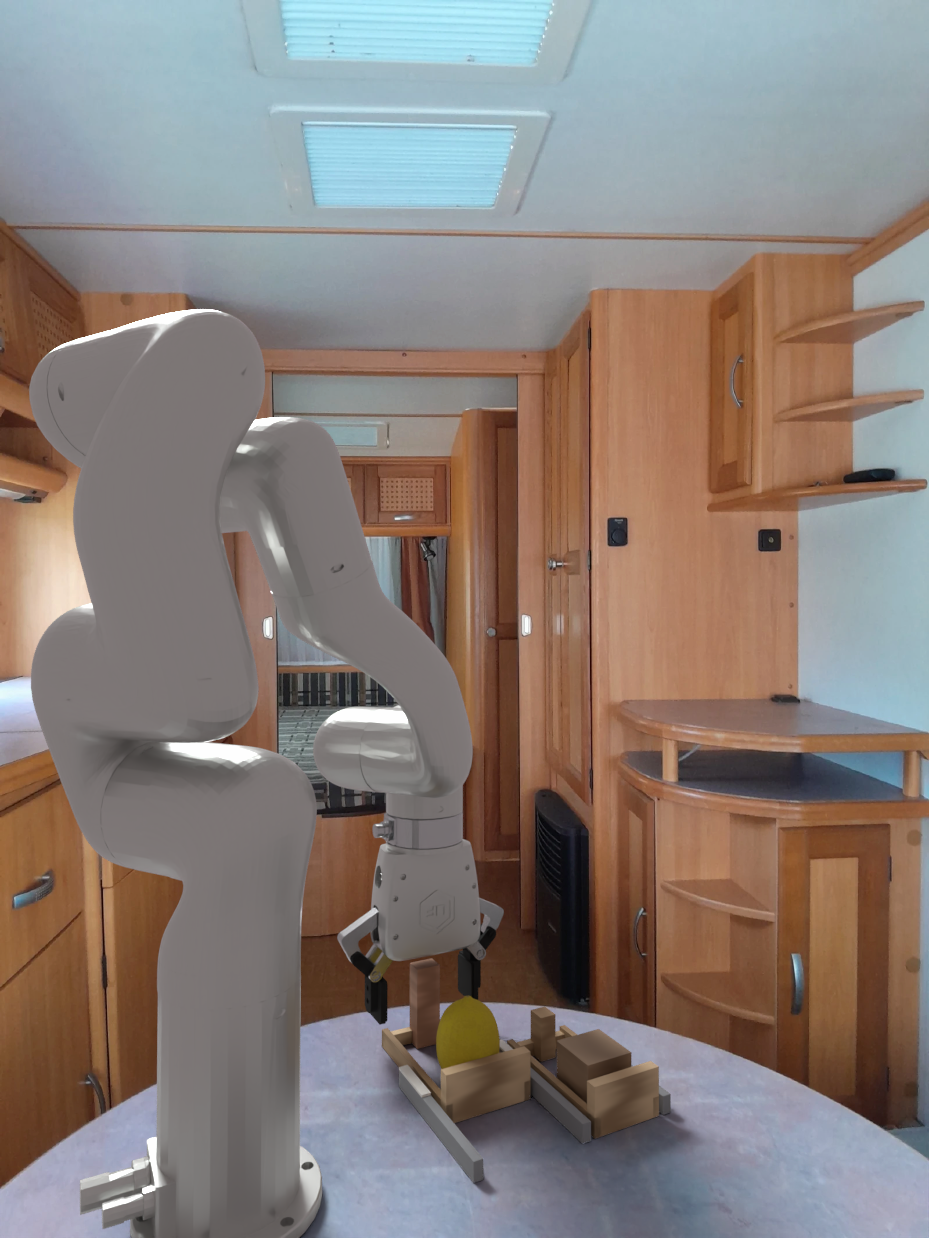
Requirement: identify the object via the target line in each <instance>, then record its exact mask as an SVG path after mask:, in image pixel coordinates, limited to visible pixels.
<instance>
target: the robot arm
mask: <svg viewBox="0 0 929 1238" xmlns="http://www.w3.org/2000/svg"><path fill="white" fill-rule="evenodd" d="M265 367H266V366H265V363H264V356H263V352H262V350H261V347H260V344H259V341H258V340H257V338H256V336H255V334H254V333H253V331H252V330H251V329H250V328H249V327H248V325H246V324H245V323H244V322H243V321H242V320H241V319H240V318H238V317H236V316H234V315H232V314H230V313H227V312H224V311H219V310H215V309H206V308H205V309H204V308H202V309H201V308H200V309H198V308H197V309H188V310H180V311H175V312H168V313H165V314H160V315H156V316H153V317H149V318H145V319H142V320H138V321H135V322H132V323H129V324H126V325H122V326H120V327H117V328H113V329H111V330H106V331H103V332H99V333H95V334H92V335H88V336H85V337H80V338H77V339H74V340H71V341H69V342H66V343H63V344H60V345H59V346H57V347H55V348H54V349H52V350H51V351H50V352H48V353H47V354H46V355H44V357H42V359H41V360H40V361H39V362H38V364H37V365H36V367H35V370H34V371H33V373H32V375H31V379H30V382H29V386H28V387H29V388H28V391H29V399H28V400H29V404H30V408H31V412H32V416H33V418H34V421H35V423H36V426H37V427H38V429H39V431H40V432H41V434H42V435H43V436H44V438H45V439H46V440H47V442H48V443H50V445H51V446H52V447H53V448H54V449H55V451H57V452H58V453H59V454H60V455H62V456H63V457H64V458H65V459H66V460H67V461H69V462H70V463H72V464H73V465H74V466H76V467H77V468H78V469H80V472H79V474H78V475H79V476H78V478H77V483H76V486H75V493H74V499H73V510H72V513H73V515H72V523H73V534H74V540H75V545H76V551H77V554H78V558H79V562H80V565H81V569H82V573H83V577H84V582H85V584H86V588H87V591H88V595H89V599H90V602H91V603H87V604H82V605H79V606H76V607H73V608H71V609H69V610H67V611H66V612H64V613H62V614H61V615H60V616H58V617H57V618H56V619H55V620H54V621H52V623H50V624H49V626H48V627H47V628H46V630H45V631H44V632H43V634H42V636H41V637H40V639H39V640H38V643H37V645H36V648H35V650H34V653H33V659H32V661H31V662H32V663H31V669H30V671H31V672H30V691H31V698H32V699H31V700H32V703H33V707H34V711H35V714H36V717H37V720H38V723H39V726H40V729H41V731H42V735H43V737H44V740H45V742H46V745H47V748H48V751H49V753H50V756H51V758H52V759H51V760H52V762H53V764H54V766H55V769H56V772H57V775H58V777H59V780H60V782H61V785H62V787H63V790H64V792H65V796H66V798H67V801H68V803H69V806H70V808H71V811H72V814H73V816H74V819H75V821H76V823H77V826H78V827H79V830H80V832H81V833H82V835H83V836H84V838H85V840H86V842H88V845H89V846H90V847H91V848H92V849H93V850H94V851H95V853H97V854H98V855H99V856H100V857H102V858H103V859H105V860H106V861H107V862H109V863H112V864H115V865H117V866H120V867H122V868H126V869H130V870H131V869H132V870H135V871H139V872H144V873H149V874H155V875H157V876H158V875H159V876H163V877H166V878H167V877H169V878H170V879H174V880H177V881H181V882H182V885H183V887H182V893H181V896H180V899H179V902H178V904H177V906H176V907H175V910H174V911H173V913H172V915H171V917H170V919H169V921H168V923H167V925H166V927H165V929H164V932H163V934H162V937H161V941H160V945H159V949H158V950H159V951H158V956H157V967H156V968H157V969H156V992H157V1025H156V1026H157V1028H156V1031H157V1032H156V1034H157V1035H156V1036H157V1037H156V1038H157V1039H156V1040H157V1041H156V1042H157V1043H156V1044H157V1046H156V1047H157V1048H156V1049H157V1050H156V1056H157V1057H156V1136H154V1137H150V1138H148V1139H146V1156H143V1157H141V1158H140V1157H139V1158H137V1159H134V1160H131V1166H129V1167H126V1168H123V1169H119V1170H116V1171H113V1172H109V1171H107V1172H103V1173H100V1174H97V1175H93V1176H90V1177H85V1178H83V1179H80V1180H79V1214H80V1216H82V1215H85V1214H89V1213H92V1212H95V1211H99V1210H101V1224H102V1225H101V1227H102V1230H105V1229H109V1228H112V1227H115V1226H118V1225H121V1224H125V1222H127V1221H129V1234H130V1238H300V1237H301V1236H303V1235H304V1234H305V1233H306V1231H307V1230H308V1229H309V1228H310V1225H311V1224H312V1223H313V1221H315V1219H316V1216H317V1214H318V1211H319V1210H320V1208H321V1203H322V1196H323V1175H322V1171H321V1167H320V1165H319V1162H317V1159H316V1158H315V1156H314V1155H313V1154H311V1152H309V1150H308V1149H306V1148H305V1147H304V1146H301V1025H302V1024H301V1023H302V1022H301V1019H302V1018H301V1017H302V1015H301V1012H302V1011H301V1010H302V1009H301V1007H302V1006H301V1005H302V1004H301V1002H302V1001H301V999H302V998H301V997H302V996H301V995H302V994H301V993H302V992H301V991H302V989H301V986H302V983H301V982H302V981H301V980H302V975H301V974H302V973H301V972H302V971H301V970H302V969H301V967H302V966H301V961H302V959H301V957H302V956H301V955H302V954H301V952H302V950H301V949H302V918H303V917H302V916H303V903H304V895H305V888H306V887H305V885H306V878H307V873H308V867H309V862H310V858H311V852H312V848H313V843H314V837H315V832H316V826H317V812H318V811H317V810H318V807H317V799H316V794H315V790H314V788H313V785H312V783H311V781H310V779H309V777H308V775H307V773H305V772H304V771H303V769H301V767H300V766H299V765H298V764H296V762H294V761H293V760H291V759H290V758H288V757H286V756H284V755H282V754H280V753H278V752H275V751H271V750H269V749H266V748H261V747H257V746H251V745H249V746H248V745H241V744H231V743H230V744H229V743H220V742H213V741H216V740H221V739H224V738H226V737H229V736H230V735H233V734H234V733H236V732H237V731H239V730H241V728H243V727H244V726H245V725H246V724H247V723H248V721H249V720H250V719H251V717H252V715H253V713H254V711H255V710H256V707H257V705H258V704H257V703H258V698H259V688H260V687H259V679H258V677H259V676H258V671H257V664H256V659H255V655H254V650H253V647H252V642H251V640H250V635H249V632H248V629H247V626H246V621H245V618H244V614H243V610H242V608H241V603H240V599H239V596H238V593H237V588H236V586H235V581H234V577H233V575H232V571H231V566H230V562H229V560H228V555H227V550H226V546H225V542H224V536H223V534H225V533H239V532H247V533H248V534H249V537H250V540H251V542H252V545H253V547H254V549H255V552H256V555H257V557H258V560H259V563H260V567H261V568H262V569H261V570H262V571H263V574H264V577H265V579H266V582H267V585H268V587H269V590H270V594H271V596H272V598H273V601H274V604H275V607H276V610H277V612H278V615H279V619H280V622H281V623H282V625H283V626H284V628H285V629H286V630H287V631H288V632H289V633H290V634H291V635H293V636H294V637H296V638H297V639H299V640H300V641H302V642H303V643H305V644H307V645H310V646H311V647H313V648H315V649H316V650H318V651H320V652H323V653H324V654H326V655H329V656H330V657H332V658H335V659H337V660H339V661H341V662H343V663H345V664H348V665H349V666H352V667H353V668H355V669H357V670H358V671H360V672H362V673H364V674H365V675H366V676H368V677H369V678H371V679H372V680H374V681H375V682H376V683H377V684H379V685H380V686H381V687H382V688H383V689H384V690H385V691H386V692H387V693H388V694H389V695H390V696H391V697H392V699H394V701H395V702H396V703H397V705H395V706H393V707H388V706H387V707H379V706H378V707H377V706H351V707H346V708H343V709H340V710H338V711H336V712H333V713H332V714H331V715H329V716H328V717H327V718H326V719H325V720H324V721H323V722H322V723H321V725H320V726H319V728H318V730H317V732H316V734H315V737H314V740H313V744H312V745H313V746H312V752H313V755H312V756H313V760H314V763H315V767H316V768H317V770H318V772H319V773H320V775H321V776H323V777H324V779H326V780H327V781H328V782H330V783H331V784H333V785H334V786H338V787H340V788H344V789H348V790H354V791H362V792H372V793H382V794H383V793H384V794H385V813H383V821H380V822H379V823H373V825H372V835H373V837H374V839H379V838H381V839H382V840H384V841H385V843H382V844H381V845H380V846H379V850H378V853H377V857H376V864H375V869H374V874H373V882H372V883H373V884H372V891H371V904H370V905H371V906H370V910H369V911H367V912H366V913H365V914H363V915H362V916H360V917H358V918H357V919H356V920H355V921H354V922H352V923H351V924H349V925H348V926H347V927H346V928H344V929H343V930H341V931H340V932H338V934H337V937H336V938H337V941H338V943H339V945H340V946H341V949H342V950H343V952H344V954H345V956H346V959H347V960H348V961H349V962H350V963H351V964H352V966H354V968H356V969H357V970H359V972H361V974H363V975H364V1006H365V1007H364V1008H365V1010H366V1012H367V1013H368V1014H370V1015H371V1017H373V1019H374V1021H376V1023H378V1025H384V1024H386V1022H388V985H389V984H388V981H387V980H386V979H385V978H384V977H383V976H384V975H385V973H386V972H387V971H388V969H389V967H390V965H391V964H392V963H393V962H394V961H396V962H402V961H410V960H415V959H421V958H426V957H431V956H435V955H440V954H444V953H450V952H455V951H458V954H457V990H458V992H459V993H460V994H461V995H462V996H463V997H465V996H471V997H472V998H473V999H476V1000H479V988H481V985H482V984H481V982H482V976H481V972H482V971H481V970H482V966H481V965H482V963H481V962H482V961H483V960H484V959H485V958H486V955H487V952H486V950H487V949H488V947H490V945H491V944H492V942H493V941H494V940H495V938H496V937H497V929H498V928H499V926H500V923H501V921H502V919H503V916H504V913H505V912H504V909H503V908H502V907H501V906H500V905H497V904H496V903H493V902H491V901H488V900H485V899H484V898H481V897H480V894H479V885H478V883H479V882H478V874H477V868H476V861H475V859H474V858H475V857H474V852H473V848H472V844H471V842H470V841H469V840H467V839H464V836H463V835H464V833H463V832H464V830H463V829H464V827H463V825H464V824H463V823H464V819H463V817H464V816H463V815H464V810H463V808H464V806H463V803H464V802H463V801H464V799H463V797H464V794H463V793H464V791H463V790H464V789H463V788H464V786H463V785H464V784H465V782H466V780H467V778H468V777H469V774H470V771H471V768H472V762H473V756H474V755H473V753H474V750H473V749H474V748H473V746H474V745H473V738H472V736H473V735H472V731H471V725H470V722H469V717H468V713H467V710H466V706H465V702H464V698H463V695H462V691H461V688H460V686H459V682H458V679H457V675H456V674H455V671H454V670H453V668H452V665H451V664H450V662H449V661H448V659H447V657H446V656H445V655H444V654H443V653H442V651H441V650H440V649H439V648H438V646H437V645H436V644H435V642H433V640H431V638H430V637H429V636H428V635H427V634H426V632H425V631H423V629H421V627H420V626H419V625H418V624H417V623H416V622H414V621H413V620H412V618H411V617H409V616H408V615H407V614H406V613H405V612H404V611H403V610H402V609H401V608H399V607H398V606H397V605H396V604H394V603H393V602H392V601H391V600H390V599H389V598H388V597H387V596H386V595H385V593H384V591H383V590H382V588H381V586H380V583H379V580H378V576H377V573H376V570H375V566H374V562H373V559H372V557H371V553H370V550H369V546H368V544H367V540H366V536H365V534H364V530H363V527H362V522H361V520H360V517H359V514H358V510H357V507H356V503H355V501H354V496H353V494H352V490H351V487H350V484H349V480H348V477H347V474H346V471H345V468H344V465H343V462H342V457H341V454H340V452H339V449H338V447H337V445H336V442H335V441H334V439H333V437H332V436H331V434H330V433H329V432H328V431H327V430H326V429H325V428H324V427H323V426H321V425H320V424H319V423H316V422H315V421H312V420H310V419H306V418H301V417H295V416H294V417H293V416H279V417H278V416H277V417H275V416H274V417H267V418H266V417H265V418H259V419H257V416H258V414H259V412H260V409H261V407H262V403H263V399H264V395H265V388H266V370H265V369H266V368H265ZM481 914H483V920H482V921H483V922H482V923H481ZM369 933H370V938H371V942H372V945H371V947H370V949H369V950H368V951H367V953H366V954H365V955H364V953H362V950H361V949H360V946H359V941H361V940H362V939H363V938H364V937H366V936H367V935H369Z"/></svg>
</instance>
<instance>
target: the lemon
mask: <svg viewBox="0 0 929 1238" xmlns="http://www.w3.org/2000/svg"><path fill="white" fill-rule="evenodd" d="M500 1040H501V1039H500V1032H499V1028H498V1024H497V1021H496V1018H495V1015H494V1013H493V1012H492V1010H491V1009H490V1008H489V1006H487V1005H486V1004H485V1002H482V1001H480V1000H479V999H478V1000H476V999H473V998H472V997H471V996H463V998H460V999H459V998H458V999H457V1000H454V1001H453V1002H452V1003H451V1004H449V1006H447V1008H445V1010H444V1012H443V1013H442V1015H441V1016H440V1022H439V1025H438V1030H437V1036H436V1044H435V1048H436V1051H435V1052H436V1056H437V1061H438V1064H439V1066H440V1070H441V1069H444V1068H448V1067H451V1066H455V1065H459V1064H462V1063H466V1062H469V1061H473V1060H477V1059H480V1058H484V1057H487V1056H491V1055H494V1054H498V1053H499V1047H500Z"/></svg>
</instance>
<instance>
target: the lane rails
mask: <svg viewBox="0 0 929 1238" xmlns="http://www.w3.org/2000/svg"><path fill="white" fill-rule="evenodd" d="M509 1050H512V1048H511V1047H510V1046H509V1045H508V1044H507V1041H505V1040H504V1039H500V1047H499V1052H501V1053H502V1052H505V1051H509ZM398 1087H399V1089H400V1091H402V1093H404V1095H405V1096H406V1098H407V1099H408V1100H409V1102H410V1103H411V1104H412V1106H413V1107H414V1109H416V1111H417V1112H418V1113H419V1114H420V1116H421V1117H422V1119H423V1120H424V1121H425V1122H426V1124H427V1125H428V1126H429V1128H431V1130H432V1131H433V1133H434V1134H435V1135H436V1137H437V1138H438V1139H439V1140H440V1141H441V1143H442V1145H444V1147H445V1148H446V1150H448V1152H449V1154H450V1155H452V1157H453V1159H455V1161H456V1162H457V1163H458V1166H460V1168H461V1169H462V1170H463V1171H464V1173H465V1174H466V1176H467V1177H468V1178H469V1180H471V1182H472V1183H473V1184H475V1183H477V1182H480V1181H483V1180H484V1157H482V1155H481V1154H480V1153H479V1152H478V1150H477V1149H476V1148H475V1147H474V1146H473V1144H472V1143H471V1141H470V1140H469V1139H468V1138H467V1137H466V1136H465V1134H463V1133H462V1131H461V1130H460V1128H459V1126H457V1125H456V1123H453V1121H452V1120H451V1119H450V1118H449V1117H448V1115H447V1114H446V1113H445V1112H444V1111H443V1109H442V1108H441V1107H440V1106H439V1105H438V1103H437V1102H436V1101H435V1100H434V1098H433V1097H432V1096H431V1092H430V1091H429V1090H428V1088H427V1087H426V1086H425V1085H424V1084H423V1083H422V1081H421V1080H420V1079H419V1078H418V1077H417V1075H416V1074H415V1073H414V1072H413V1071H412V1069H411V1068H410V1067H409V1066H408V1065H405V1066H401V1067H398ZM530 1096H532V1097H533V1098H534V1099H535V1100H536V1101H537V1102H538V1103H539V1104H540V1105H541V1106H542V1107H544V1109H546V1110H547V1111H548V1112H549V1114H550V1115H552V1116H553V1117H554V1118H555V1119H556V1120H557V1121H558V1122H559V1123H560V1124H561V1125H562V1126H564V1128H566V1130H567V1131H568V1132H569V1133H570V1134H572V1135H573V1137H575V1139H577V1140H578V1141H579V1142H580V1143H581V1144H586V1143H588V1142H589V1143H590V1142H591V1141H592V1136H591V1121H590V1120H589V1119H588V1118H587V1117H586V1116H584V1115H583V1114H582V1113H581V1112H580V1111H579V1110H578V1109H577V1108H576V1107H574V1106H573V1105H572V1104H571V1103H570V1102H569V1101H568V1100H567V1099H566V1098H564V1097H563V1096H562V1095H561V1094H560V1093H559V1092H558V1091H557V1090H555V1089H554V1088H553V1087H552V1086H551V1085H550V1084H549V1083H548V1082H547V1081H545V1080H544V1079H543V1078H542V1077H541V1076H540V1075H539V1074H538V1073H537V1072H535V1071H534V1070H533V1069H532V1068H531V1067H530Z"/></svg>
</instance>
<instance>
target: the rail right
mask: <svg viewBox="0 0 929 1238" xmlns="http://www.w3.org/2000/svg"><path fill="white" fill-rule="evenodd" d="M633 1066H634V1065H632V1064H631V1067H633ZM671 1103H672V1102H671V1092H669V1091H667V1090H666V1089H665V1088H663V1087H662V1086H660V1085H659V1114H662V1116H664V1115H667V1114H670V1113H672V1112H671V1110H672V1109H671Z"/></svg>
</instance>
